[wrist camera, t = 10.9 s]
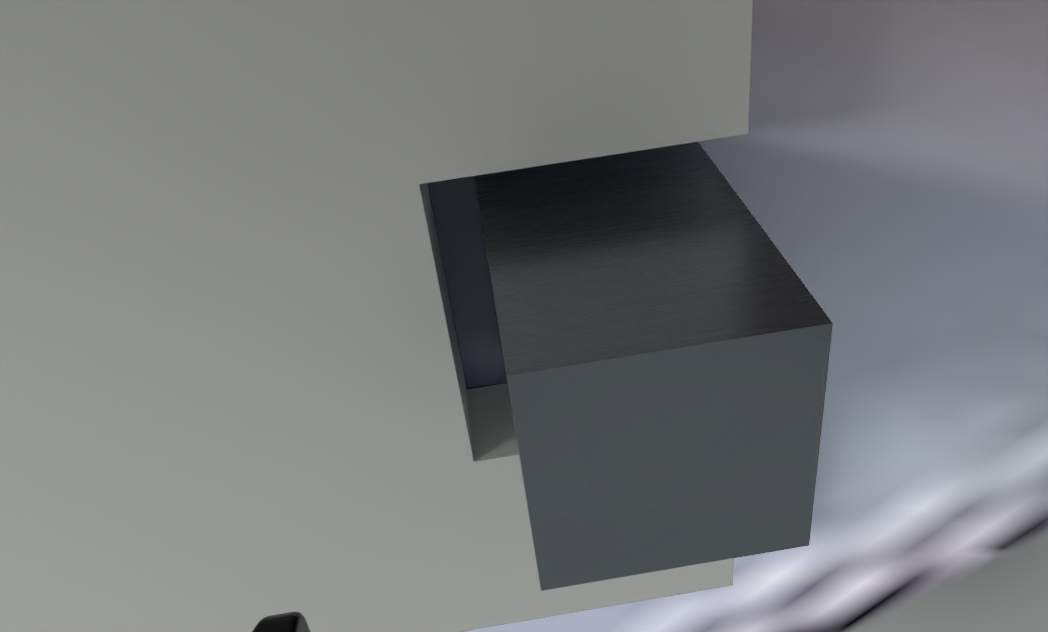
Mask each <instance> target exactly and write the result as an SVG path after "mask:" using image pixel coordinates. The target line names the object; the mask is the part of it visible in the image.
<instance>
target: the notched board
mask: <svg viewBox="0 0 1048 632" xmlns="http://www.w3.org/2000/svg"><path fill="white" fill-rule="evenodd" d="M752 11H753V0H0V632H252V631H253V629H254V628H255V626H256V625H257V623H258V622H259V621H260V620H261V619H263V618H264V617H267V616H271V615H277V614H282V613H288V612H300V613H301V614H302V615H303V616H304V617H305V619H306V622H307V624H308V627H309V629H310V632H462V631H468V630H473V629H479V628H485V627H491V626H497V625H503V624H509V623H514V622H520V621H526V620H532V619H538V618H544V617H549V616H555V615H561V614H567V613H573V612H579V611H585V610H590V609H596V608H602V607H608V606H614V605H620V604H626V603H631V602H637V601H643V600H649V599H655V598H661V597H666V596H672V595H678V594H684V593H690V592H696V591H702V590H707V589H713V588H719V587H725V586H731V585H733V562H734V558H731V559H725V560H719V561H713V562H708V563H702V564H696V565H690V566H684V567H678V568H672V569H667V570H661V571H655V572H649V573H643V574H637V575H631V576H626V577H620V578H614V579H608V580H602V581H596V582H590V583H585V584H579V585H573V586H567V587H561V588H555V589H549V590H544V591H541V587H540V581H539V575H538V569H537V563H536V557H535V551H534V545H533V539H532V532H531V526H530V520H529V514H528V508H527V502H526V496H525V490H524V484H523V477H522V471H521V465H520V459H519V453H518V447H517V441H516V435H515V429H514V423H513V416H512V410H511V404H510V398H509V392H508V386H507V383H504V384H498V385H492V386H486V387H480V388H473V389H466V384H465V378H464V373H463V368H462V363H461V357H460V352H459V347H458V342H457V337H456V331H455V326H454V321H453V316H452V310H451V305H450V300H449V295H448V289H447V284H446V279H445V274H444V268H443V263H442V258H441V253H440V248H439V242H438V237H437V232H436V227H435V221H434V216H433V211H432V206H431V200H430V195H429V190H428V185H427V183H430V182H437V181H444V180H450V179H457V178H463V177H470V176H476V175H483V174H489V173H496V172H502V171H509V170H515V169H522V168H529V167H535V166H542V165H548V164H555V163H561V162H568V161H574V160H581V159H587V158H594V157H601V156H607V155H614V154H620V153H627V152H633V151H640V150H646V149H653V148H659V147H666V146H673V145H679V144H686V143H692V142H699V141H705V140H712V139H718V138H725V137H731V136H738V135H745V134H748V127H749V98H750V69H751V40H752Z"/></svg>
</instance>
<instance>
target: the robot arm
mask: <svg viewBox="0 0 1048 632" xmlns="http://www.w3.org/2000/svg"><path fill="white" fill-rule="evenodd" d="M252 632H310V629H309V627H308V624H307V622H306V619H305V617H304V616H303V615H302V614H301V613H300V612H288V613H282V614H277V615H271V616H267V617H264V618H263V619H261V620H260V621H259V622H258V623H257V625H256V626H255V628H254V629H253V631H252Z"/></svg>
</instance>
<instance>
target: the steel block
mask: <svg viewBox="0 0 1048 632" xmlns="http://www.w3.org/2000/svg"><path fill="white" fill-rule="evenodd" d="M474 178H475V184H476V191H477V197H478V203H479V210H480V216H481V222H482V229H483V235H484V242H485V248H486V254H487V261H488V267H489V273H490V280H491V286H492V292H493V299H494V305H495V311H496V318H497V324H498V330H499V337H500V343H501V349H502V355H503V361H504V368H505V374H506V380H507V386H508V392H509V398H510V404H511V410H512V416H513V423H514V429H515V435H516V441H517V447H518V453H519V459H520V465H521V471H522V477H523V484H524V490H525V496H526V502H527V508H528V514H529V520H530V526H531V532H532V539H533V545H534V551H535V557H536V563H537V569H538V575H539V581H540V587H541V591H544V590H549V589H555V588H561V587H567V586H573V585H579V584H585V583H590V582H596V581H602V580H608V579H614V578H620V577H626V576H631V575H637V574H643V573H649V572H655V571H661V570H667V569H672V568H678V567H684V566H690V565H696V564H702V563H708V562H713V561H719V560H725V559H731V558H737V557H743V556H749V555H754V554H760V553H766V552H772V551H778V550H784V549H790V548H795V547H801V546H807V545H809V539H810V530H811V521H812V511H813V502H814V492H815V483H816V474H817V464H818V455H819V446H820V436H821V427H822V417H823V408H824V399H825V389H826V380H827V370H828V361H829V352H830V342H831V333H832V324H833V323H832V322H831V320H830V319H829V318H828V316H827V315H826V314H825V312H824V311H823V310H822V308H821V307H820V306H819V304H818V303H817V302H816V300H815V299H814V298H813V296H812V295H811V294H810V292H809V291H808V290H807V288H806V287H805V285H804V284H803V283H802V281H801V280H800V279H799V277H798V276H797V275H796V273H795V272H794V271H793V269H792V268H791V267H790V265H789V264H788V263H787V261H786V260H785V259H784V257H783V256H782V255H781V253H780V252H779V250H778V249H777V248H776V246H775V245H774V244H773V242H772V241H771V240H770V238H769V237H768V236H767V234H766V233H765V232H764V230H763V229H762V228H761V226H760V225H759V224H758V222H757V221H756V219H755V218H754V217H753V215H752V214H751V213H750V211H749V210H748V209H747V207H746V206H745V205H744V203H743V202H742V201H741V199H740V198H739V197H738V195H737V194H736V193H735V191H734V190H733V189H732V187H731V186H730V184H729V183H728V182H727V180H726V179H725V178H724V176H723V175H722V174H721V172H720V171H719V170H718V168H717V167H716V166H715V164H714V163H713V162H712V160H711V159H710V158H709V156H708V155H707V154H706V152H705V151H704V149H703V148H702V147H701V145H700V144H699V143H698V142H692V143H686V144H679V145H673V146H666V147H659V148H653V149H646V150H640V151H633V152H627V153H620V154H614V155H607V156H601V157H594V158H587V159H581V160H574V161H568V162H561V163H555V164H548V165H542V166H535V167H529V168H522V169H515V170H509V171H502V172H496V173H489V174H483V175H476V176H474Z"/></svg>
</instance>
